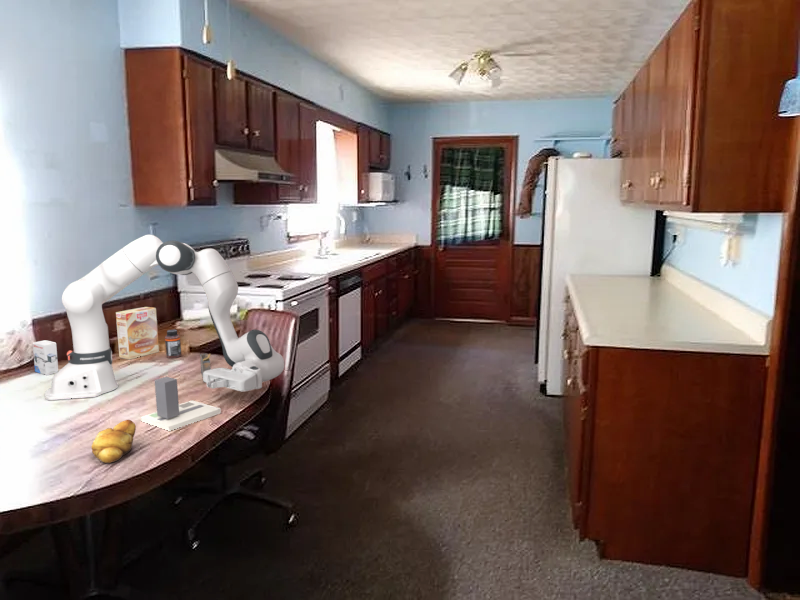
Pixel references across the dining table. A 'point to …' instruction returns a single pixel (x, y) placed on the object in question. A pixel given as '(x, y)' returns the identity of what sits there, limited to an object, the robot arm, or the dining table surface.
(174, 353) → the supplement bottle
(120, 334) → the coffeecake box
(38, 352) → the ink box
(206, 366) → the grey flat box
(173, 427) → the switch panel
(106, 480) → the dining table surface
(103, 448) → the bread roll
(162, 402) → the switch tab
